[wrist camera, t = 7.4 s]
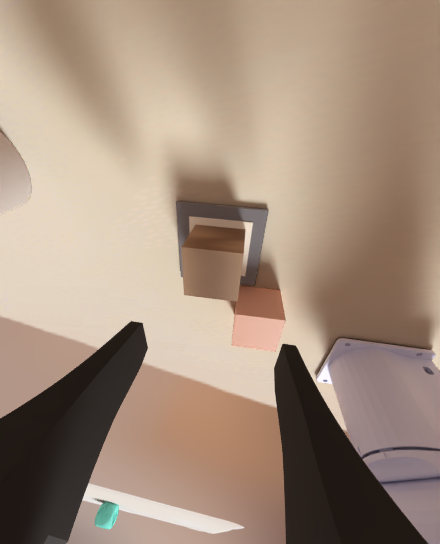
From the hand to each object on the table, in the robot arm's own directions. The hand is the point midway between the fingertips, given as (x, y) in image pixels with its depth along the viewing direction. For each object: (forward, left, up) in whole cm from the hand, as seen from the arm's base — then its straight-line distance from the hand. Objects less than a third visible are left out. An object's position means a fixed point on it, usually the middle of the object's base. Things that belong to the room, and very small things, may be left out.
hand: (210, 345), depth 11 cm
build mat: (+1, -1, -9) cm, 9 cm away
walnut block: (+1, -1, -9) cm, 9 cm away
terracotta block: (-3, +5, -9) cm, 11 cm away
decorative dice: (+51, +158, -10) cm, 166 cm away
